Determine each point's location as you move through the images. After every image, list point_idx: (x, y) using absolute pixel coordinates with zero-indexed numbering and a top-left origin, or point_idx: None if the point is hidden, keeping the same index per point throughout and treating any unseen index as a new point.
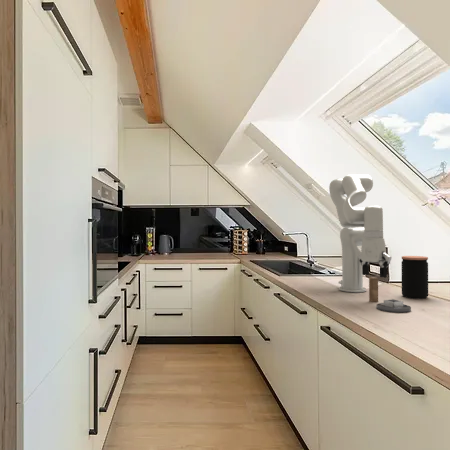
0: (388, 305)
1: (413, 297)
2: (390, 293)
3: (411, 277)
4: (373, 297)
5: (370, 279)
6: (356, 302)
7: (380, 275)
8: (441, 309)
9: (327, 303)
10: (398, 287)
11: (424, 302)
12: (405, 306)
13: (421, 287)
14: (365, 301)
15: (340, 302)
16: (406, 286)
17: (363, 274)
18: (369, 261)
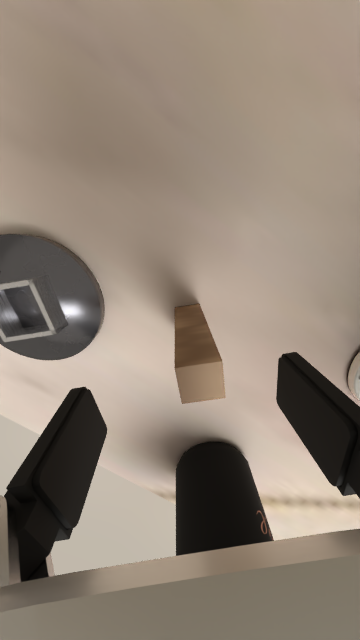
0: (18, 280)
1: (189, 451)
2: (282, 439)
3: (198, 538)
4: (176, 314)
5: (205, 355)
6: (190, 228)
7: (71, 396)
8: (40, 427)
9: (216, 2)
10: (339, 496)
11: (135, 442)
12: (25, 342)
13: (176, 502)
14: (197, 284)
15: (215, 133)
16: (212, 481)
17: (285, 355)
18: (184, 577)
